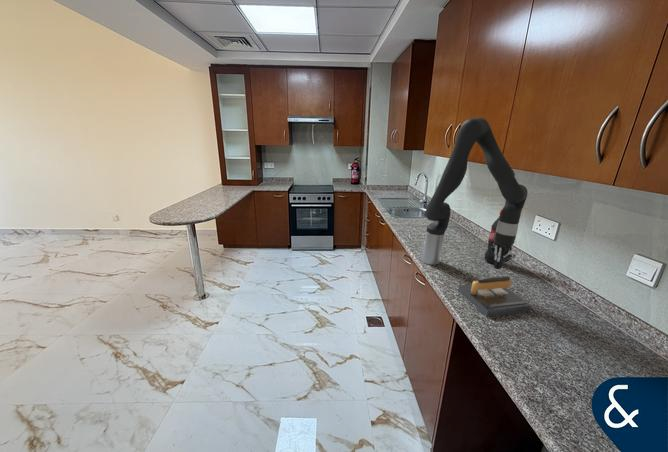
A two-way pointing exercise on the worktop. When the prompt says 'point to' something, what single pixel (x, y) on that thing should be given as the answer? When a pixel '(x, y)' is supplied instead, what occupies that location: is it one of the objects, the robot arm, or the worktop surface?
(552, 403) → the worktop surface
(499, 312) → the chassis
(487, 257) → the cola bottle
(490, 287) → the orange handle
